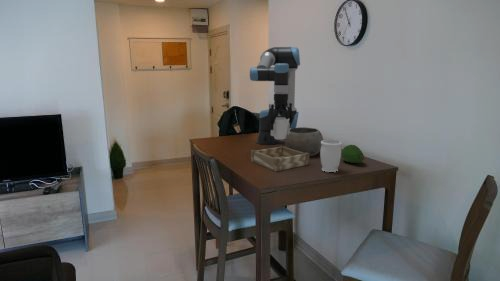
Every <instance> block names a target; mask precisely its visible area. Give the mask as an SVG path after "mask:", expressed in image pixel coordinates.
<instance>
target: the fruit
mask: <svg viewBox="0 0 500 281" xmlns="http://www.w3.org/2000/svg"><path fill="white" fill-rule="evenodd" d="M341 158H342V159H343V161H345V162H347V163H349V162H350V163H349V164H356V163H362V162H363V161H364V160H365V156H364V153H363V151H362V150H361V149H360V148H359V146H357V145H356V144H349V145H345V146H344V147H343V148H342V149H341Z"/></svg>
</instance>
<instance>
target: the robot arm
mask: <svg viewBox="0 0 500 281" xmlns="http://www.w3.org/2000/svg"><path fill="white" fill-rule="evenodd" d="M300 65H301V59H300V51H299V48H298V47H297V46H279V47H278V46H274V47H271V48H268V49H267V50H265V51H263V52H262V53H261V54H260V58H259V62H258V64H257V66H254V67H253V66H252V67H250V69H249V80H250V81H252V82H274V83H273V92H274V93H273V103H270V104H269V105H268V107H269V109H264V110H261V111H259V117H258V118H259V120H258V122H259V123H258V125H259V131H258V135H257V138H256V143H257V144H259V145H262V146H263V145H265V146H266V145H267V146H268V145H269V146H272V145H277V144H278V143H279V140H278V139H275V138H274V136H275V124H274V122H275V119H276V117H283V118H286V119H288V118H289V119H290V120H289V124H288V129H287V134H289V130H290V129H292V128H297V124H298V120H299V111H297V108H296V107H295V100H296V99H295V97H296V95H295V94H296V92H295V91H296V72H297V70H298V68H299V66H300ZM272 66H273V67H272Z"/></svg>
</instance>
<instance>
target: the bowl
mask: <svg viewBox="0 0 500 281" xmlns="http://www.w3.org/2000/svg"><path fill="white" fill-rule="evenodd" d="M321 141H324V137H323V134H322V132H321V131H320V130H319V129H318V128H313V127H296V128H292V129H289V134H286V138H285V139H284V142H285V147H286V148H290V149H293V150H297V151H300V152H303V153H306V152H307V153H310V154H309V158H310V157H314V156H317V155H318V154H320V150H321V146H322V144H321Z"/></svg>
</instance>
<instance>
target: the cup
mask: <svg viewBox="0 0 500 281" xmlns="http://www.w3.org/2000/svg"><path fill="white" fill-rule="evenodd" d="M289 120H290V119H289V118H288V119H286V118H283V117H276V119H275V122H274V124H275V136H274V138H275V139H278V141H279V140H280V141H283V140H285V138H286V134H287V129H288V124H289Z"/></svg>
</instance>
